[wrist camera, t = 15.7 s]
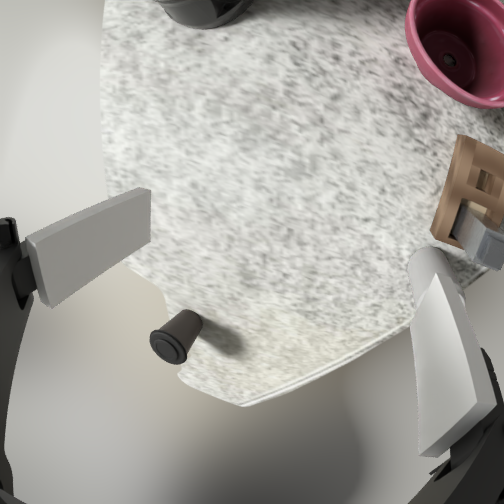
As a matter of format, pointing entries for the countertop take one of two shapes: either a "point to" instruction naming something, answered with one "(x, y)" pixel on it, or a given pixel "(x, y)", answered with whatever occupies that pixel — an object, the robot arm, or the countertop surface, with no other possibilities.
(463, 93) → the plant pot
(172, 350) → the coffee cup
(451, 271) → the beverage can
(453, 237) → the socket block
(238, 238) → the countertop surface
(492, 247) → the grey square peg
